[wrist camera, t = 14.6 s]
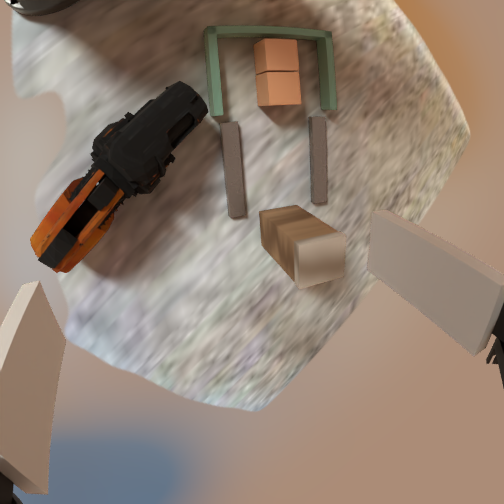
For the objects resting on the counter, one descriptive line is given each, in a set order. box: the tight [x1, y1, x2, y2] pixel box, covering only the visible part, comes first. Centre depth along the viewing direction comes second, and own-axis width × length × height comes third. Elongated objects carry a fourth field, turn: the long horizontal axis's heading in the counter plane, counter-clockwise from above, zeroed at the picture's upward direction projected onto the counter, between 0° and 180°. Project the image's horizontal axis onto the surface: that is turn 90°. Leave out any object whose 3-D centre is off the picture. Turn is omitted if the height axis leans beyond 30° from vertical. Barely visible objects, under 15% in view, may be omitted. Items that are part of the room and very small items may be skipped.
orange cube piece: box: [253, 39, 299, 74], centre depth 33 cm, size 4×4×4 cm
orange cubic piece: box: [256, 72, 301, 106], centre depth 35 cm, size 4×4×4 cm
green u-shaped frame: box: [204, 26, 337, 116], centre depth 34 cm, size 11×16×2 cm
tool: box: [30, 81, 208, 273], centre depth 31 cm, size 8×23×15 cm, turn 130°
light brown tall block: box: [259, 205, 346, 289], centre depth 39 cm, size 5×6×12 cm
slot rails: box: [220, 116, 327, 218], centre depth 40 cm, size 12×14×1 cm
